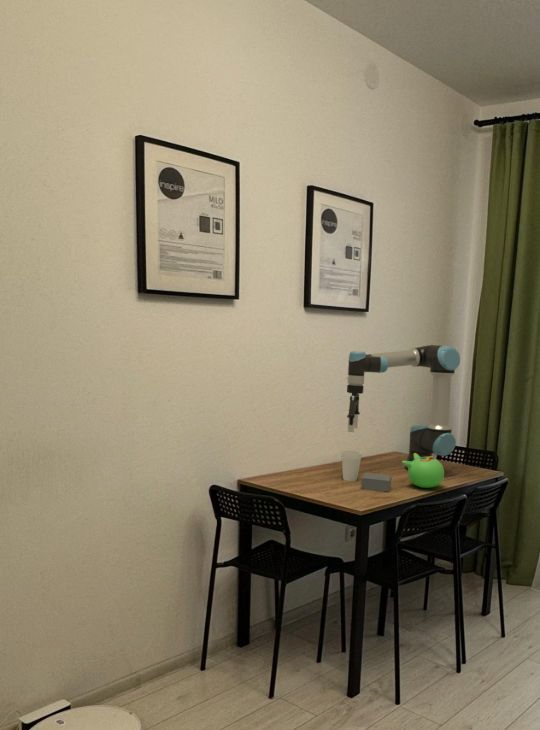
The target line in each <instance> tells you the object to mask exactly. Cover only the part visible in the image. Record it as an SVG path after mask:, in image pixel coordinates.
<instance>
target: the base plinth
mask: <svg viewBox="0 0 540 730" xmlns="http://www.w3.org/2000/svg"><path fill="white" fill-rule="evenodd" d="M391 484H392V474H385V473H384V474H382V473H372V472H364V473H363V475H362V477H361V487H360V488H361V490H364V489H367V491H373V490H378V491H377V492H382V491H387V492H386V493H390V490H391V487H390V486H391Z"/></svg>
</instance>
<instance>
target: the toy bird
mask: <svg viewBox="0 0 540 730" xmlns="http://www.w3.org/2000/svg"><path fill="white" fill-rule="evenodd" d="M413 455H414V460H413V461H406V460H402V461H401V463H402V465H404V467H405V466H407V467H408V470H407V475H408V478H409V481H410V482H411V483H412V484H413V485H415V486H417V487H418V488H422V489H432V488H434V487H437V486H439V485H441V483H442V482H443V480H444V477H445V469H444V466H443V464H442V463H441V462H440V461H439V460H438V459H436V458H434V456H433V455H432V456H430V457H426V456H425V457H420V456H419V455H418V454H416V453H414V454H413Z"/></svg>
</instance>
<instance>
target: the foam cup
mask: <svg viewBox="0 0 540 730" xmlns="http://www.w3.org/2000/svg"><path fill="white" fill-rule="evenodd" d="M340 454H341V466H342V467H341V468H342V477H343V479H342V480H344V481H346V482H356V481H357V480H358V476H359V471H360V465H361V460H362V452H361V451H357V450H349V449H346V450H341V452H340Z"/></svg>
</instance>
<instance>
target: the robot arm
mask: <svg viewBox="0 0 540 730" xmlns="http://www.w3.org/2000/svg"><path fill="white" fill-rule="evenodd" d="M347 361H348V367H347V369H348V372H347V376H346V379H347V385H346V393H348V394H351V395H350V396H349V405H348V406H349V407H348V408H349V409H348V415H346V417H347V418H348V422H347V432H348V433H354V432H355V429H358V421H359V415H360V414H361V413H360V411H359V410H360V409H359V407H360V405H359V404H360V395H361V394H364V384H365V373H377V374H380V373H382V374H383V373H385V372H387V371H388V369H389V368H397V367H404V366H407V367H408V366H412V367H413V368H415V367H423V368H429V371H430V372H429V373H430V374H431V376H432V392H431V409H430V411H431V414H430V423H429V424H428V425H426V424H425V425H423V424H422V425H421V424H419V425H412V426H410V431H409V447H408V448H409V449H408V456H407V457H406V459H405V461H413V460H414V455H413V454H414V453H416V454H418V455H419V456H420V457H425V456H426V457H430V456H433V455H436V456H442V457H445V456H448V455H450V454H451V453H452V452H453V451H454V449H455V447H456V444H457V440H456V438H455V436H454V434H452V427H451V426H450V424H449V422H450V421H449V419H450V404H451V403H450V402H451V386H452V385H451V382H452V377H453V376H454V375H455V372H456V371H455V370H456V369H457V368H458V367H459V366H460V363H461V356H460V353H459V351H458V350H457V349H456V348H455V347H453V346H449V345H440V344H439V345H434V344H430V345H423V346H418V347H412V348H409V350H408V349H407V350H399V351H391V352H381V353H379V352H378V353H377V352H376V353H369V354H366V352H365V351H357V350H356V351H354V350H352V351H350V352H349V355H348V360H347ZM405 468H406V469H405ZM404 469H405V470H407V469H408V467H407V466H405V465H404Z"/></svg>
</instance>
